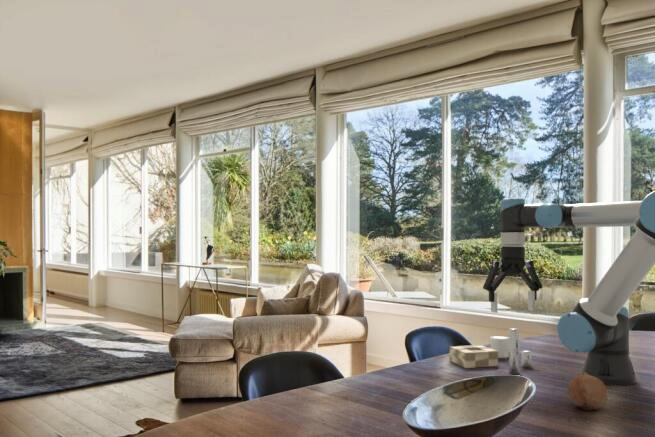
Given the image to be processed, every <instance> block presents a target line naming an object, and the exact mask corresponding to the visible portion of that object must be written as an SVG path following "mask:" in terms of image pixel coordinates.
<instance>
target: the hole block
mask: <svg viewBox="0 0 655 437" xmlns="http://www.w3.org/2000/svg"><path fill="white" fill-rule="evenodd" d="M449 361H450V362H452V363H454V364H456V365H458V366H460V367H463V368H465V369H471V368H486V367H487V368H488V367H497V366H499V358H498V351H496V350H493V349H491V347H487V346H485V345H482V344H471V345H455V346H452V345H451V346H449Z"/></svg>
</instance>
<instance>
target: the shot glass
mask: <svg viewBox="0 0 655 437" xmlns="http://www.w3.org/2000/svg"><path fill="white" fill-rule="evenodd" d="M489 338H490V339H489V340H490V348H491V349H493V350H496V351H498V359H507V358H509V336H504V335H503V336H502V335H492V336H490V337H489Z"/></svg>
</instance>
